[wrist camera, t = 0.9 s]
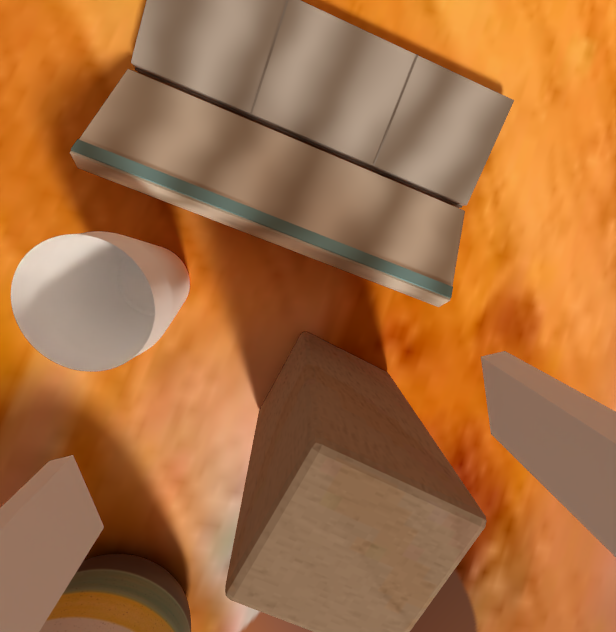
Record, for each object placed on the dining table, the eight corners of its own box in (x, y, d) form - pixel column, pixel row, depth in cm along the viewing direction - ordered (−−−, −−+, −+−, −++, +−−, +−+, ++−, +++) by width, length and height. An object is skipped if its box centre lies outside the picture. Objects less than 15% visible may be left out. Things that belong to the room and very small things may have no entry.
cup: (87, 292, 35) (-18, 323, 23) (136, 211, 33) (51, 199, 22) (171, 345, 36) (112, 399, 24) (221, 269, 35) (185, 288, 23)
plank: (77, 167, 28) (69, 151, 26) (132, 86, 31) (127, 67, 29) (438, 307, 31) (450, 300, 29) (454, 220, 34) (465, 210, 33)
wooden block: (302, 328, 36) (314, 439, 17) (390, 372, 38) (494, 522, 18) (257, 412, 38) (219, 601, 18) (342, 451, 39) (390, 666, 20)
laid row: (138, 72, 31) (129, 63, 29) (170, -49, 29) (162, -65, 28) (458, 207, 34) (466, 206, 33) (503, 106, 33) (514, 100, 31)
